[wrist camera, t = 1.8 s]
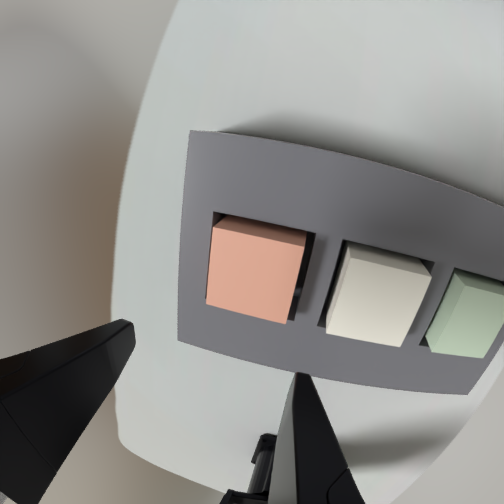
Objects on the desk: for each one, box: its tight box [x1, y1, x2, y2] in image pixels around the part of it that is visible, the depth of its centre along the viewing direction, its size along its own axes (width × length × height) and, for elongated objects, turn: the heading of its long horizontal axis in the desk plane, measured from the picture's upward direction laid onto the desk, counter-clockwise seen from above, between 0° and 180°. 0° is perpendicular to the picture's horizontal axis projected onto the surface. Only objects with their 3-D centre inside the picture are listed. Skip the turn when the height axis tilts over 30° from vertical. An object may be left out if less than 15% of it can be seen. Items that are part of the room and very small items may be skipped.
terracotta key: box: [206, 214, 307, 324], centre depth 14 cm, size 4×4×2 cm
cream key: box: [326, 240, 432, 347], centre depth 13 cm, size 4×4×2 cm
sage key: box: [425, 267, 504, 358], centre depth 13 cm, size 4×4×2 cm
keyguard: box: [178, 130, 504, 395], centre depth 15 cm, size 12×20×4 cm, turn 82°
